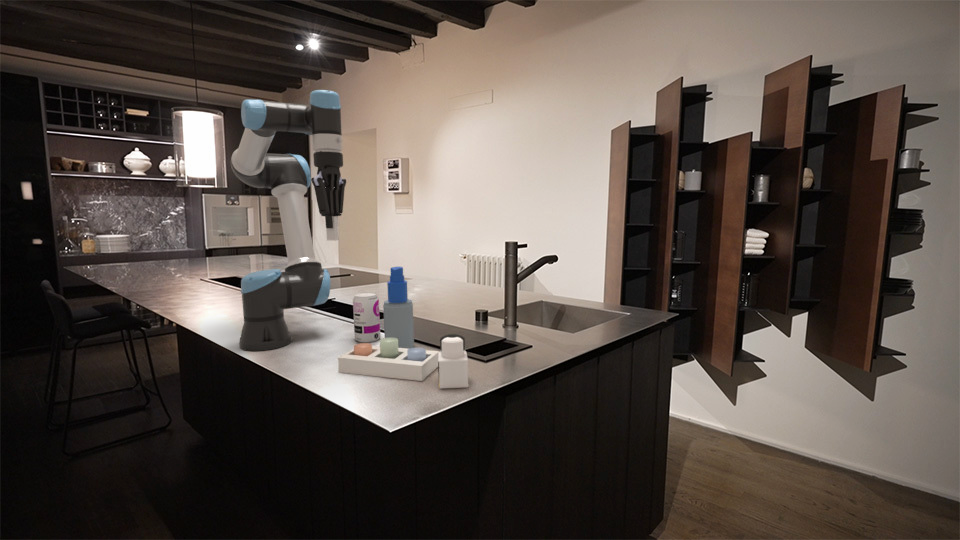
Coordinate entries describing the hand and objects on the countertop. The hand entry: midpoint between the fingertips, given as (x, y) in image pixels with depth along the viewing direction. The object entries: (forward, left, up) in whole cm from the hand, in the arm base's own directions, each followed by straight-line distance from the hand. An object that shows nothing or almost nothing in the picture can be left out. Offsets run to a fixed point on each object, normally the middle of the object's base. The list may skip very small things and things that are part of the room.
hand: (332, 240), depth 132 cm
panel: (+17, -2, -34) cm, 38 cm away
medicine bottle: (+37, -7, -35) cm, 51 cm away
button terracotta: (+9, -2, -34) cm, 35 cm away
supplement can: (-3, +21, -35) cm, 41 cm away
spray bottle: (+11, +16, -35) cm, 40 cm away
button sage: (+17, -2, -31) cm, 36 cm away
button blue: (+25, -2, -34) cm, 42 cm away
